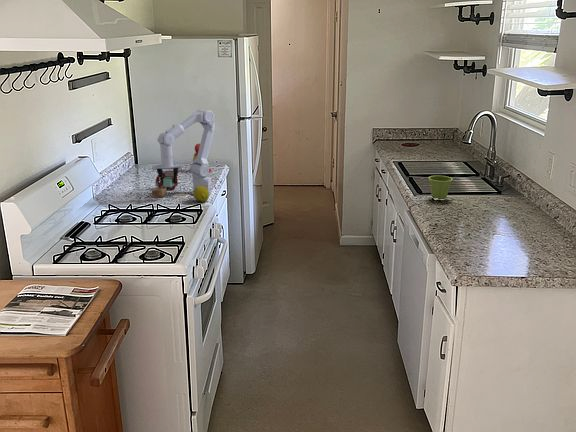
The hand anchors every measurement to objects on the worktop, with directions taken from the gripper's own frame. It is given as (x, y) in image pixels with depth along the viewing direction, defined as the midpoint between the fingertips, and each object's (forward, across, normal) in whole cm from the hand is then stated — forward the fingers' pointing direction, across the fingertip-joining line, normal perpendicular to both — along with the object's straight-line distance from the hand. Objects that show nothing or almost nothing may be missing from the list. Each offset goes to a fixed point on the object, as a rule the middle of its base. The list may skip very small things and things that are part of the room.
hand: (168, 183), depth 290 cm
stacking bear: (+9, -19, -62) cm, 65 cm away
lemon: (+9, -16, +8) cm, 20 cm away
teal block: (+1, 0, 0) cm, 1 cm away
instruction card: (+8, -6, -5) cm, 11 cm away
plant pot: (+9, -135, +29) cm, 139 cm away
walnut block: (+9, +5, -7) cm, 12 cm away
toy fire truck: (+9, +1, -22) cm, 24 cm away
